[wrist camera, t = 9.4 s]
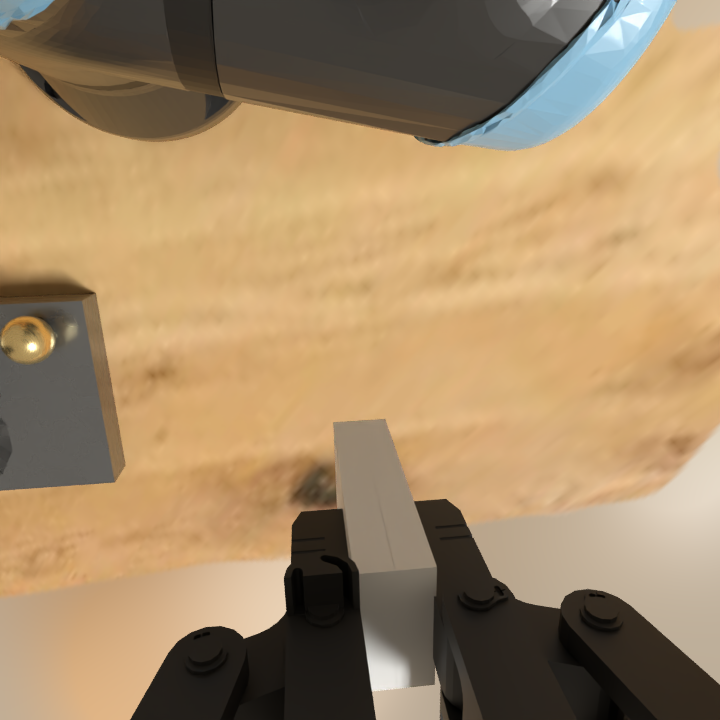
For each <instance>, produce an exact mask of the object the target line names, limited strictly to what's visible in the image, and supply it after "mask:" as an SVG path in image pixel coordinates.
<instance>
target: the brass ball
mask: <svg viewBox="0 0 720 720" xmlns="http://www.w3.org/2000/svg"><path fill="white" fill-rule="evenodd" d="M55 344H56V337H55V333H54V331H53V329H52V328H51V326H50V325H49V324H48V323H47V322H45V321H44V320H42V319H40V318H38V317H34V316H20V317H17V318H14V319H12V320H10V321H9V322H8V323H6V324H5V326H4V327H3V328H2V330H1V332H0V347H1V350H2V351H3V353H4V354H5V355H6V356H7V357H8V358H9V359H11V360H12V361H14V362H17V363H20V364H26V365H30V364H36V363H39V362H42V361H44V360H45V359H47V358H48V357H49V356H50V355H51V353H52V352H53V350H54V348H55Z"/></svg>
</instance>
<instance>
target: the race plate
mask: <svg viewBox="0 0 720 720" xmlns="http://www.w3.org/2000/svg"><path fill="white" fill-rule="evenodd" d="M20 316H34V317H38V318H40V319H42V320H44V321H45V322H47V323H48V324H49V325H50V326H51V328H52V329H53V331H54V333H55V337H56V344H55V348H54V350H53V352H52V353H51V355H50V356H49V357H48V358H47V359H45V360H44V361H42V362H39V363H36V364H30V365H26V364H20V363H17V362H14V361H12V360H11V359H9V358H8V357H7V356H6V355H5V354H4V353H3V351H2V350H1V347H0V491H1V490H15V489H29V488H43V487H57V486H71V485H85V484H99V483H113V482H115V481H116V480H117V478H118V476H119V475H120V473H121V472H122V470H123V468H124V467H125V460H124V454H123V449H122V443H121V437H120V431H119V425H118V420H117V414H116V408H115V402H114V397H113V391H112V385H111V379H110V373H109V368H108V362H107V356H106V350H105V344H104V339H103V333H102V327H101V321H100V315H99V310H98V304H97V298H96V293H93V294H70V295H46V296H23V297H0V332H1V330H2V328H3V327H4V326H5V324H6V323H8V322H9V321H10V320H12V319H14V318H17V317H20Z"/></svg>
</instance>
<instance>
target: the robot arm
mask: <svg viewBox="0 0 720 720" xmlns="http://www.w3.org/2000/svg"><path fill="white" fill-rule="evenodd" d="M676 1H677V0H0V56H1V57H4V58H6V59H9V60H11V61H14V62H16V63H19V65H20V66H21V67H22V69H23V70H24V71H25V73H26V74H27V75H28V76H29V78H30V79H31V80H32V81H33V82H34V83H35V85H36V86H37V87H38V88H39V89H40V90H41V91H42V92H43V93H44V94H45V95H46V96H47V97H49V98H50V99H51V100H52V101H53V102H54V103H56V104H57V105H58V106H60V107H61V108H62V109H63V110H65V111H66V112H68V113H69V114H71V115H72V116H74V117H75V118H77V119H79V120H80V121H82V122H84V123H86V124H88V125H90V126H92V127H94V128H97V129H99V130H102V131H104V132H107V133H110V134H113V135H118V136H122V137H126V138H130V139H135V140H140V141H151V142H162V141H173V140H179V139H184V138H188V137H191V136H194V135H197V134H199V133H202V132H204V131H206V130H208V129H210V128H212V127H213V126H215V125H217V124H218V123H220V122H221V121H223V120H224V119H225V118H227V117H228V116H229V115H230V114H231V113H232V112H233V111H234V110H235V109H236V108H237V107H238V106H239V105H240V104H241V103H242V102H243V103H248V104H253V105H259V106H264V107H269V108H274V109H279V110H284V111H289V112H294V113H300V114H305V115H310V116H315V117H320V118H325V119H330V120H336V121H341V122H346V123H351V124H356V125H361V126H366V127H372V128H377V129H382V130H387V131H392V132H397V133H402V134H408V135H413V136H414V137H415V138H416V139H417V140H418V141H420V142H422V143H425V144H427V145H431V146H436V147H442V146H456V145H460V144H461V145H468V146H474V147H481V148H488V149H495V150H503V151H516V150H521V149H526V148H532V147H536V146H538V145H541V144H544V143H547V142H549V141H550V140H552V139H554V138H556V137H558V136H559V135H561V134H563V133H565V132H566V131H568V130H569V129H571V128H572V127H574V126H575V125H576V124H578V123H579V122H580V121H582V120H583V119H584V118H585V117H586V116H587V115H589V114H590V113H591V112H592V111H593V110H594V109H595V108H596V107H597V106H598V105H599V104H601V103H602V102H603V101H604V99H605V98H606V97H607V96H608V95H609V94H610V93H611V92H612V91H613V90H614V89H615V88H616V86H617V85H618V84H619V83H620V82H621V81H622V80H623V78H624V77H625V76H626V75H627V74H628V72H629V71H630V70H631V69H632V67H633V66H634V65H635V63H636V62H637V61H638V60H639V58H640V57H641V55H642V54H643V53H644V51H645V50H646V49H647V47H648V46H649V44H650V43H651V41H652V40H653V38H654V37H655V35H656V34H657V32H658V31H659V29H660V28H661V26H662V25H663V23H664V21H665V20H666V18H667V17H668V15H669V13H670V12H671V10H672V8H673V6H674V5H675V3H676ZM333 424H334V446H335V469H336V492H337V509H331V510H318V511H305V512H301V513H300V514H299V516H298V517H297V519H296V520H295V522H294V523H293V525H292V546H291V565H290V566H289V567H288V568H287V570H286V573H285V576H284V585H285V598H286V610H287V611H286V613H285V615H284V616H283V617H282V618H281V619H280V620H279V622H277V623H276V624H275V625H273V626H272V627H270V628H269V629H267V630H265V631H263V632H261V633H259V634H256V635H253V636H251V637H248V638H245V639H243V637H242V636H241V635H240V634H239V633H237V632H236V631H235V630H233V629H230V628H225V627H222V626H217V627H205V628H203V629H200V630H197V631H194V632H191V633H190V634H188V635H187V636H185V637H184V638H182V639H181V640H179V641H178V642H177V643H176V644H175V646H174V647H173V648H172V649H171V651H170V652H169V653H168V655H167V656H166V658H165V660H164V662H163V663H162V665H161V667H160V669H159V670H158V672H157V674H156V676H155V677H154V679H153V681H152V683H151V685H150V686H149V688H148V690H147V691H146V693H145V695H144V697H143V698H142V700H141V702H140V704H139V705H138V707H137V709H136V711H135V712H134V714H133V716H132V718H131V719H130V720H376V717H375V710H374V703H373V696H372V691H379V690H388V689H397V688H407V687H416V686H426V685H434V683H435V667H436V671H437V674H438V678H439V681H440V685H441V690H440V691H441V692H440V720H720V685H719V684H718V683H717V682H716V681H715V680H714V679H713V678H711V677H710V676H709V675H708V674H707V673H706V672H705V671H704V670H702V669H701V668H700V667H699V666H698V665H697V664H696V663H694V662H693V661H692V660H691V659H690V658H689V657H688V656H687V655H685V654H684V653H683V652H682V651H681V650H680V649H679V648H678V647H677V646H675V645H674V644H673V643H672V642H671V641H670V640H669V639H667V638H666V637H665V636H664V635H663V634H662V633H661V632H660V631H658V630H657V629H656V628H655V627H654V626H653V625H652V624H651V623H649V622H648V621H647V620H646V619H645V618H644V617H643V616H642V615H640V614H639V613H638V612H637V611H636V610H635V609H634V608H632V607H631V606H630V605H629V604H627V603H626V602H624V601H623V600H621V599H620V598H618V597H616V596H614V595H611V594H609V593H606V592H603V591H597V590H590V589H586V590H578V591H574V592H572V593H571V594H569V595H567V596H565V598H564V600H563V602H562V603H561V608H560V609H558V608H551V607H544V606H538V605H533V604H529V603H525V602H522V601H520V600H517V599H515V597H514V595H513V593H512V592H511V591H510V590H509V589H508V587H507V586H506V585H505V584H503V583H502V582H500V581H498V580H497V579H495V578H492V576H491V574H490V572H489V570H488V567H487V565H486V563H485V561H484V559H483V557H482V555H481V553H480V551H479V549H478V547H477V545H476V543H475V540H474V538H472V534H471V532H470V530H469V528H468V527H467V524H466V522H465V520H464V518H463V515H462V513H461V511H460V510H459V509H458V508H457V507H455V506H454V505H453V504H452V503H450V502H449V501H448V500H447V499H440V500H427V501H414V500H413V497H412V495H411V492H410V489H409V486H408V483H407V480H406V478H405V475H404V472H403V469H402V466H401V463H400V460H399V458H398V455H397V452H396V449H395V446H394V443H393V440H392V438H391V435H390V432H389V429H388V426H387V423H386V420H385V419H378V420H363V421H347V422H333Z"/></svg>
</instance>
